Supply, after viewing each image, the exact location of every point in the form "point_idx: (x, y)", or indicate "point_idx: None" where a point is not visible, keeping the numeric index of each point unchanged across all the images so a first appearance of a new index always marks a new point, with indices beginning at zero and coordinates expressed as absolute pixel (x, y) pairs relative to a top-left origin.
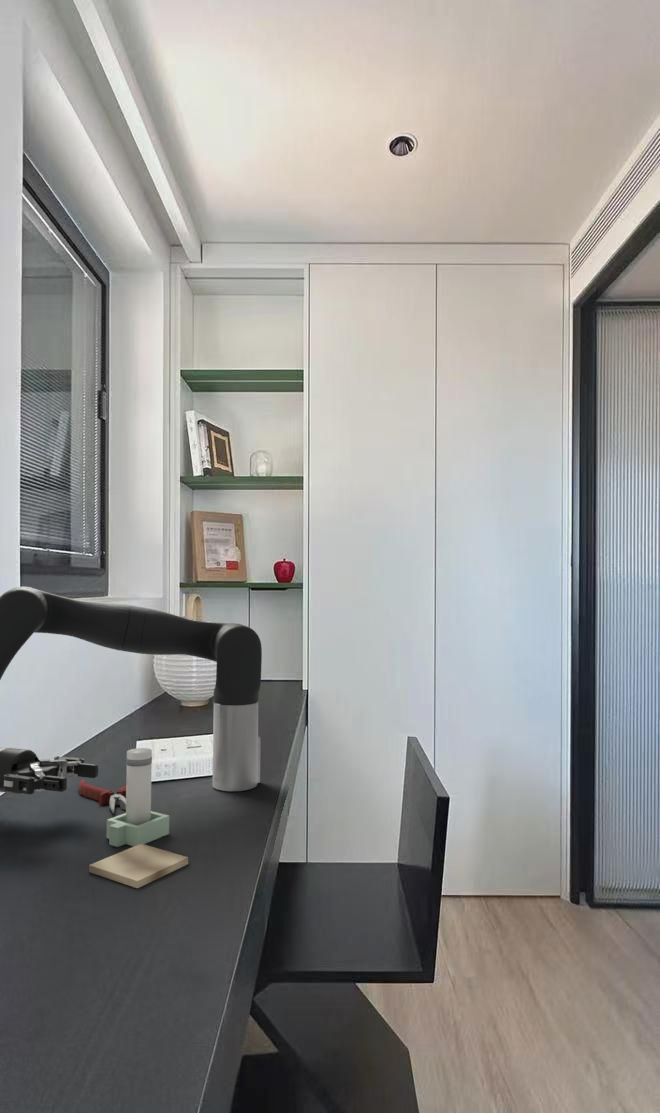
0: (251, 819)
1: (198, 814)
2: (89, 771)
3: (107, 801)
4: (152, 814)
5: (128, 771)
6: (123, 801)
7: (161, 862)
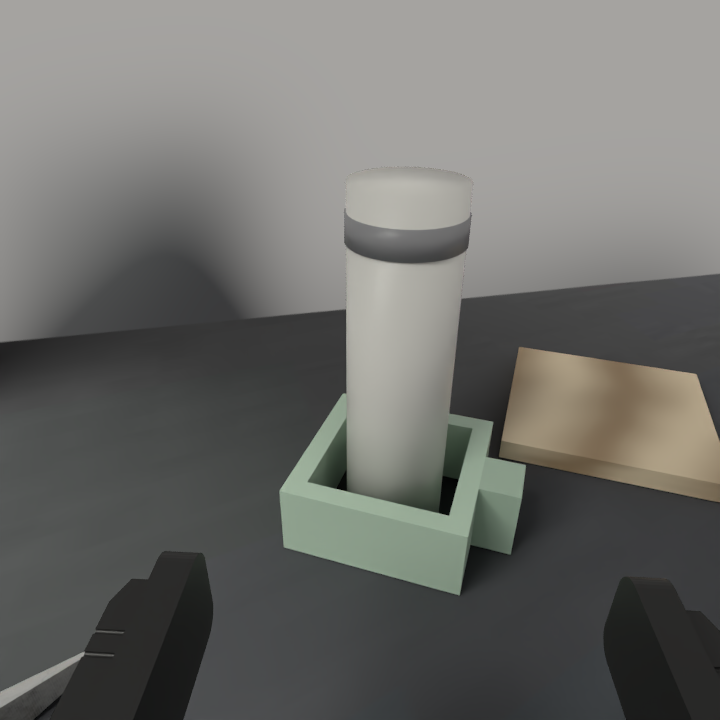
0: (191, 341)
1: (141, 434)
2: (186, 642)
3: None
4: (337, 436)
5: (460, 280)
6: (3, 705)
7: (579, 371)
